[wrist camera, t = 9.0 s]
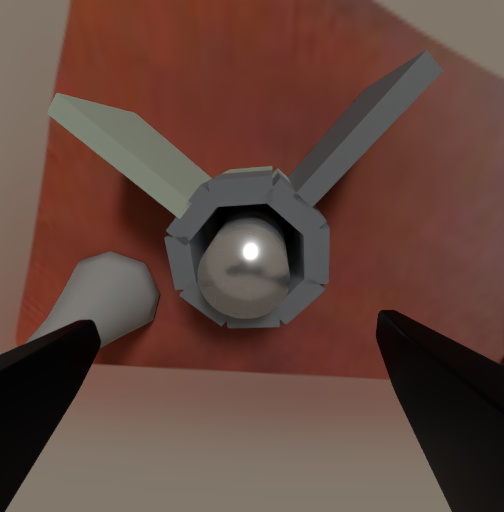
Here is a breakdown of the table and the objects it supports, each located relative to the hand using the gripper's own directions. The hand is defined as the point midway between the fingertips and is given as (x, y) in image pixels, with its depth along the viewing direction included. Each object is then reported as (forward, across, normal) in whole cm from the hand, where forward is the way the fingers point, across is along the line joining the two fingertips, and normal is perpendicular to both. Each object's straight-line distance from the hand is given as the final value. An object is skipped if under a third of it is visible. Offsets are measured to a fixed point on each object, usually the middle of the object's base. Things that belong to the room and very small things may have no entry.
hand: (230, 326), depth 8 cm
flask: (+13, +12, +5) cm, 18 cm away
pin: (+12, 0, 0) cm, 12 cm away
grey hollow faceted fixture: (+12, -3, -2) cm, 13 cm away
